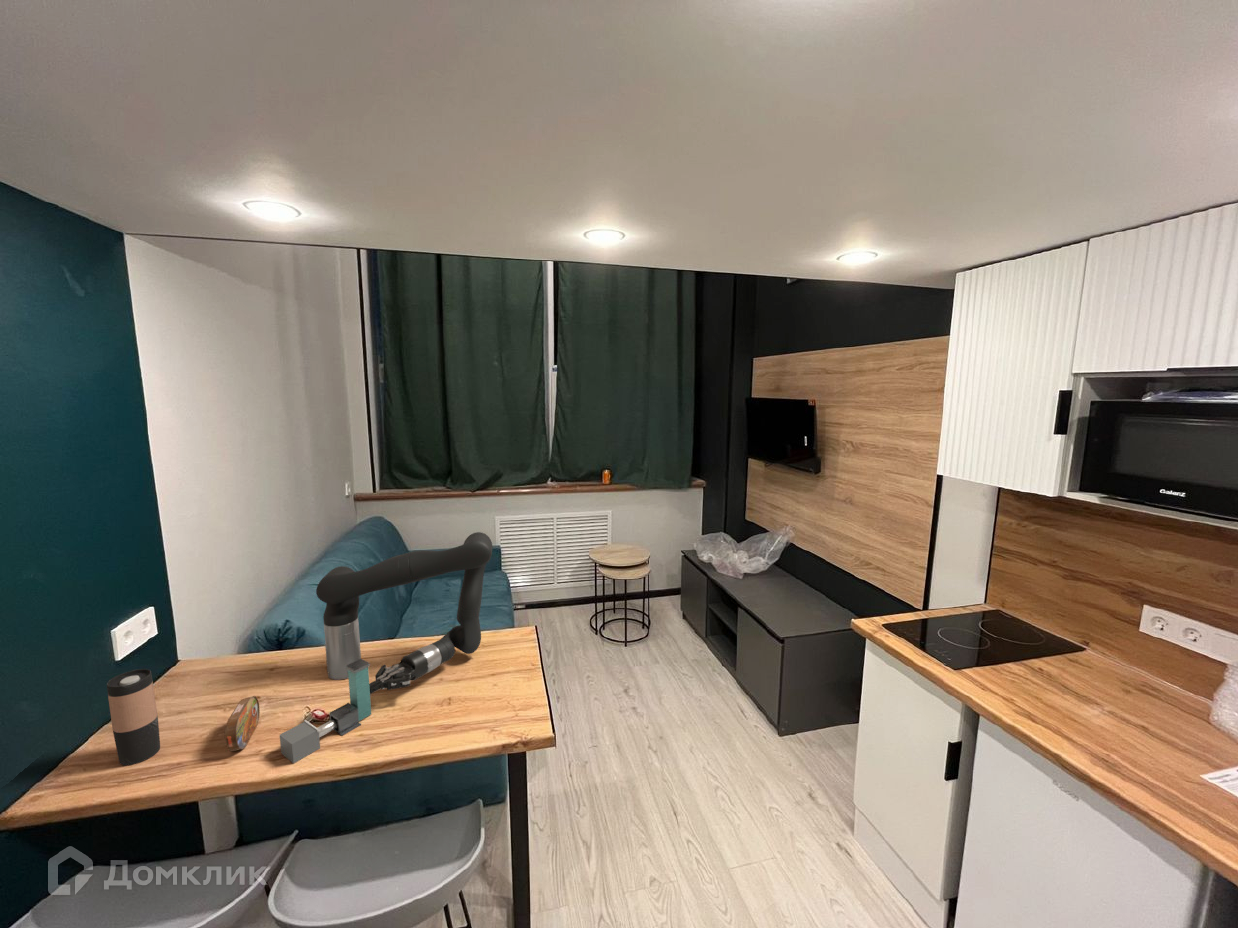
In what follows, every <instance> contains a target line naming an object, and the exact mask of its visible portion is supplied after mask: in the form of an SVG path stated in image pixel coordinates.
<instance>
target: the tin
mask: <svg viewBox="0 0 1238 928" xmlns="http://www.w3.org/2000/svg"><path fill="white" fill-rule="evenodd" d="M260 715H261V714H260V702H259V700H258V697H257V696H255V695H253V696H250V697H245V698H241V700H240V701H239V702H238V703H237V705H236V707H235V708H234V710H233V711H232V713H231V714H230V716H229V718H228V719H227V722H226V724H225V729H224V739H225V744H226V749H227V750H228V751H230V752H235V751H238V750H244V749H245V748H246V747H247V745H248V744H249V742H250V740H251V738H252V736H253V734H254V733H255V731H256V729H257V727H258V724H259V722H260Z"/></svg>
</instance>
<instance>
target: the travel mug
mask: <svg viewBox="0 0 1238 928" xmlns="http://www.w3.org/2000/svg"><path fill="white" fill-rule="evenodd" d="M154 687H155V686H154V682H153V676H152V671H151V669H147V668H143V669H142V668H140V669H133V670H129V671H126V672H123V673H121V674H118V675H115V676H114V677H112V678H111V679H109V680H108V681H107V683H106V691H107V697H108V698H107V699H108V705H109V713H110V719H111V726H112V727H111V728H112V733H113V738H114V742H115V748H116V754H117V758H118V761H119V764H120V765H122V766H133V765H137V764H140V763H142V762H145V761H147V760H149V759H150V758H152V757H154V756H156V754H158V753H159V752H160V749H161V739H160V738H161V737H160V726H159V716H158V714H159V713H158V708H157V701H156V694H155V689H154Z"/></svg>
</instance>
